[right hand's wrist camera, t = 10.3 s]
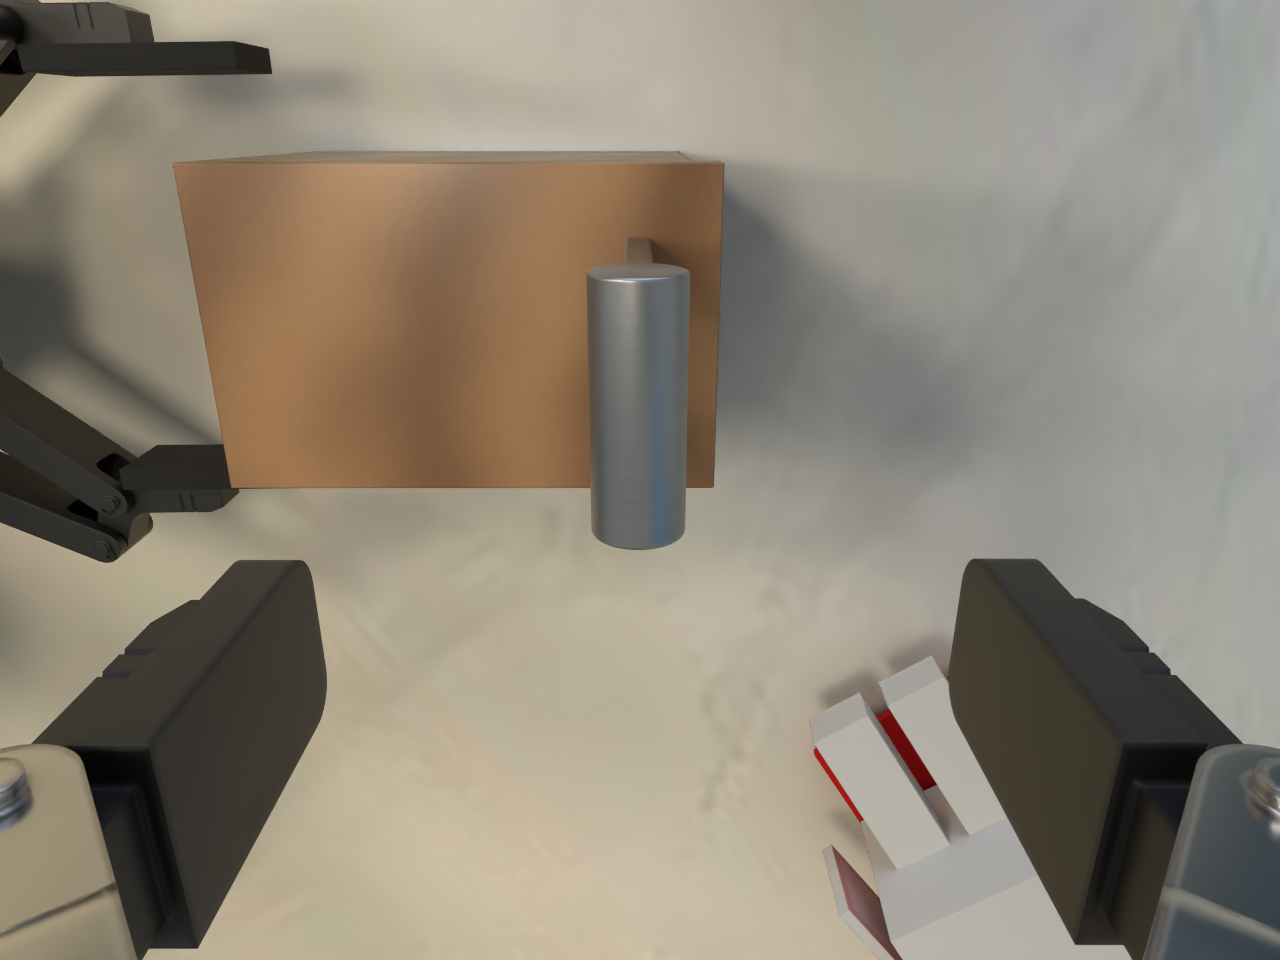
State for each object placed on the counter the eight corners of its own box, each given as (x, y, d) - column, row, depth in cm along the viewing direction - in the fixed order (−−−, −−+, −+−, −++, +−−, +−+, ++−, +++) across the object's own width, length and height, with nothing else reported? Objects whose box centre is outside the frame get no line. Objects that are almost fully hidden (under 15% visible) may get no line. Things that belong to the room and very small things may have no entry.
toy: (1040, 700, 33) (1362, 1242, 39) (949, 572, 46) (1200, 991, 51) (758, 838, 36) (1097, 1330, 41) (747, 680, 49) (1006, 1070, 54)
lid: (720, 160, 26) (763, 178, 17) (710, 473, 29) (742, 624, 20) (193, 161, 25) (-42, 178, 17) (247, 474, 29) (76, 624, 20)
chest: (678, 151, 35) (694, 160, 26) (675, 385, 39) (687, 473, 29) (317, 151, 35) (193, 160, 26) (346, 385, 39) (247, 474, 29)
